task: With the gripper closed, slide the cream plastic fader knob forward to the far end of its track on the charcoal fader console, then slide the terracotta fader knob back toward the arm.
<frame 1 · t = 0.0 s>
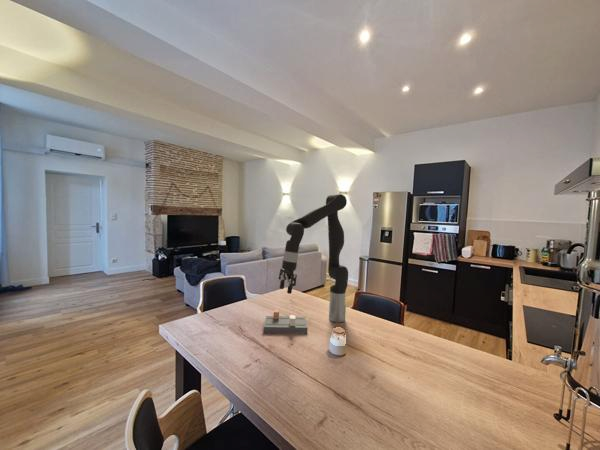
hand: (285, 291, 131), 22 cm above the table, tool pointing down, fingers open, 8 cm apart
terracotta fader: (276, 314, 142), point 5 cm above the table, slide at 0.0 cm
fader console: (285, 326, 138), on the table
cream fader: (292, 320, 134), point 5 cm above the table, slide at 0.0 cm
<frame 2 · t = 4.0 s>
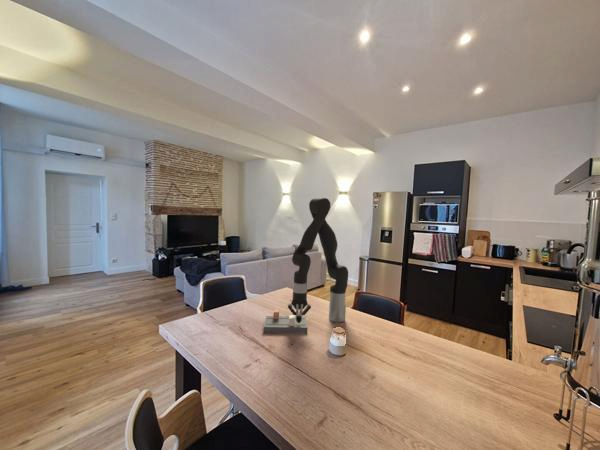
hand: (298, 322, 134), 5 cm above the table, tool pointing down, fingers closed
cream fader: (291, 320, 134), point 5 cm above the table, slide at 0.3 cm, touching gripper
everything else where it was.
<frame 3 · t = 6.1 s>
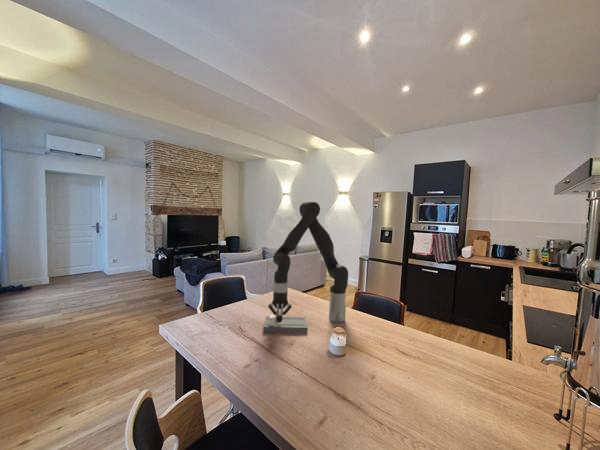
hand: (279, 321, 134), 5 cm above the table, tool pointing down, fingers closed
cream fader: (272, 320, 134), point 5 cm above the table, slide at 10.7 cm, touching gripper
everything else where it was.
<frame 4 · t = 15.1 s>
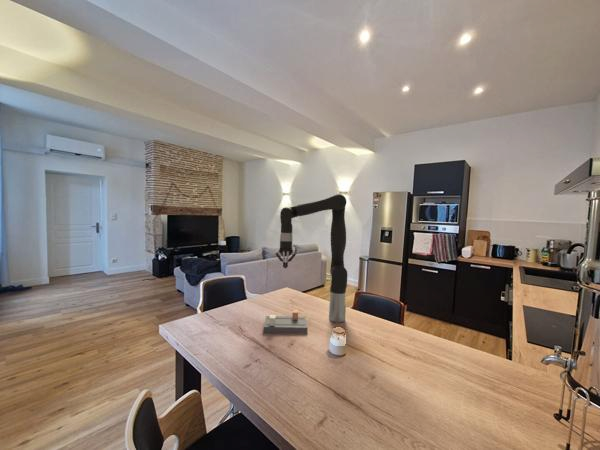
hand: (285, 268, 154), 29 cm above the table, tool pointing down, fingers closed
terracotta fader: (295, 314, 142), point 5 cm above the table, slide at 10.7 cm
cream fader: (272, 320, 134), point 5 cm above the table, slide at 10.7 cm
at the end: cream fader slide at 10.7 cm; terracotta fader slide at 10.7 cm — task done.
